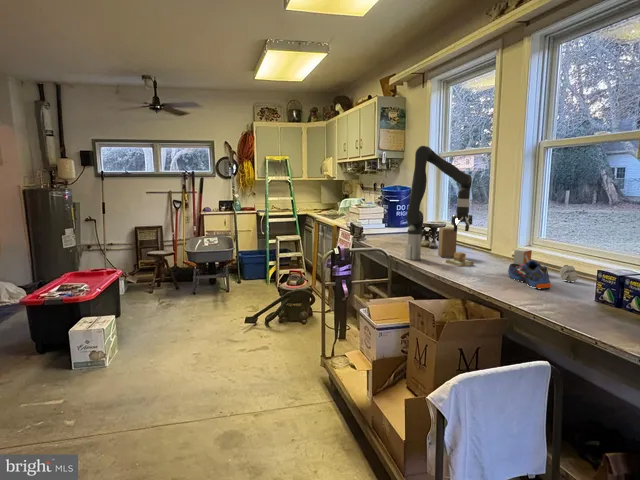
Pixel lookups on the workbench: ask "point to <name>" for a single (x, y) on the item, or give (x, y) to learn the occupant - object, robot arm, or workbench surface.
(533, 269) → the running shoe
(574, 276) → the beige lumpy piece
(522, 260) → the small box
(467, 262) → the pad
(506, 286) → the workbench surface
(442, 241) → the wooden block
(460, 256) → the oak cube
